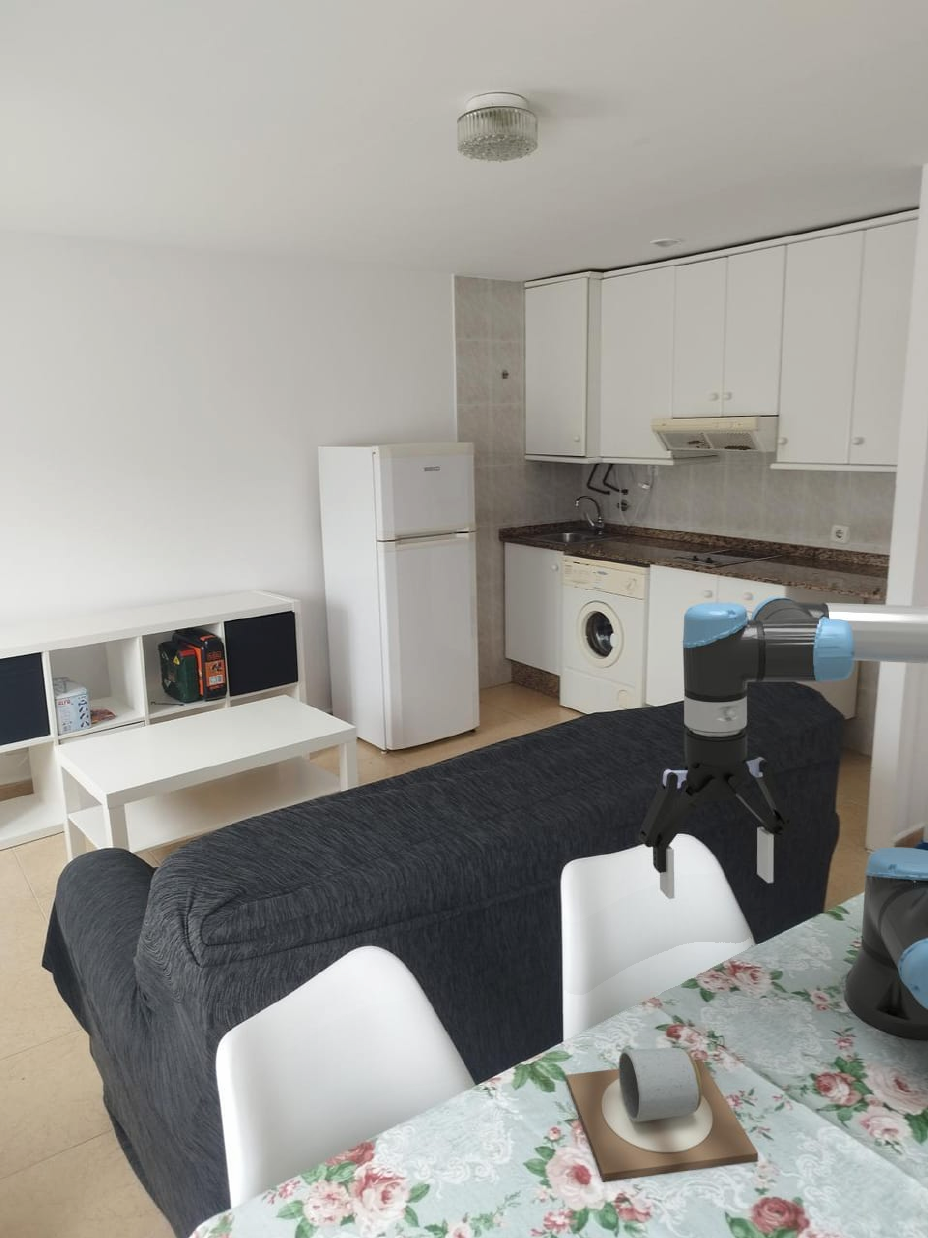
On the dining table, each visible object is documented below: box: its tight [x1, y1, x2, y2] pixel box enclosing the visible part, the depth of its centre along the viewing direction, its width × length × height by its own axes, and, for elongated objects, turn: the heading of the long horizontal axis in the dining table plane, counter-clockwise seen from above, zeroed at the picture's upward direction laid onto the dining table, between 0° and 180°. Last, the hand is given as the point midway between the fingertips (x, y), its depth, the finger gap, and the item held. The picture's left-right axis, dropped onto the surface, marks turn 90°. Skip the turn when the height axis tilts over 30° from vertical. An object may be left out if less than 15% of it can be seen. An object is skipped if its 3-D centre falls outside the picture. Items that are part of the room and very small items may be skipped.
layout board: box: [565, 1058, 759, 1182], centre depth 107 cm, size 18×16×1 cm
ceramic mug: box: [618, 1047, 702, 1122], centre depth 108 cm, size 11×8×8 cm
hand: (716, 886), depth 115 cm, fingers open, 13 cm apart
